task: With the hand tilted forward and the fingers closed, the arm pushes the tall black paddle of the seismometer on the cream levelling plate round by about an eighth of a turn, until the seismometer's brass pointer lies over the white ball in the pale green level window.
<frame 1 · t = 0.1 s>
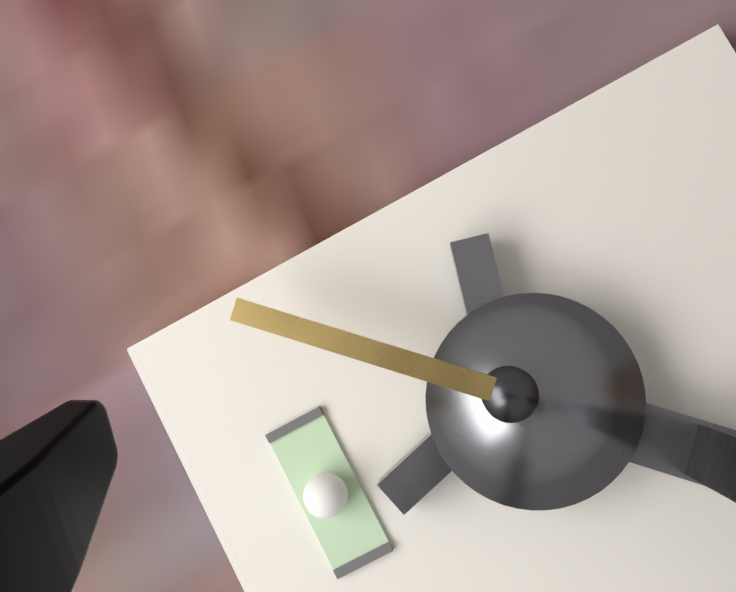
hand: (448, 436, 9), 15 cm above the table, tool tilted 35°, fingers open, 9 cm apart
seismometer: (558, 414, 17), point 6 cm above the table, hinge at 0.0°
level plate: (558, 461, 23), on the table
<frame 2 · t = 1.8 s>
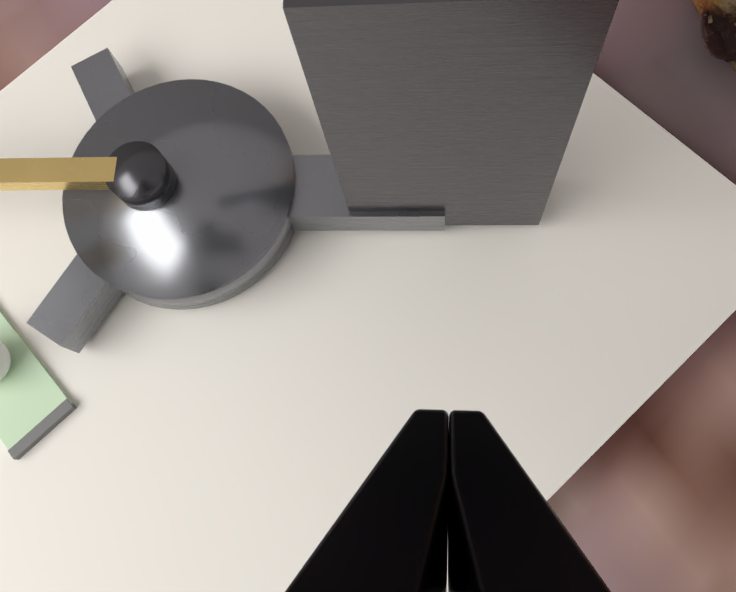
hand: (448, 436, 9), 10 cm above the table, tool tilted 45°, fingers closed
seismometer: (131, 120, 16), point 6 cm above the table, hinge at 0.0°
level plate: (255, 274, 21), on the table
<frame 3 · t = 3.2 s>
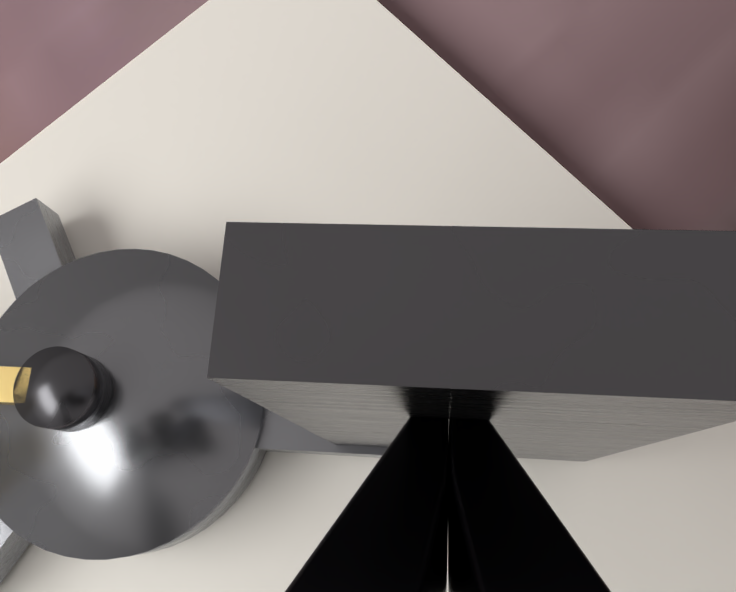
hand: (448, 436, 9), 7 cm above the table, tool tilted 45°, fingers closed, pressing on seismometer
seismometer: (31, 366, 11), point 6 cm above the table, hinge at 0.4°, touching gripper
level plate: (216, 490, 16), on the table
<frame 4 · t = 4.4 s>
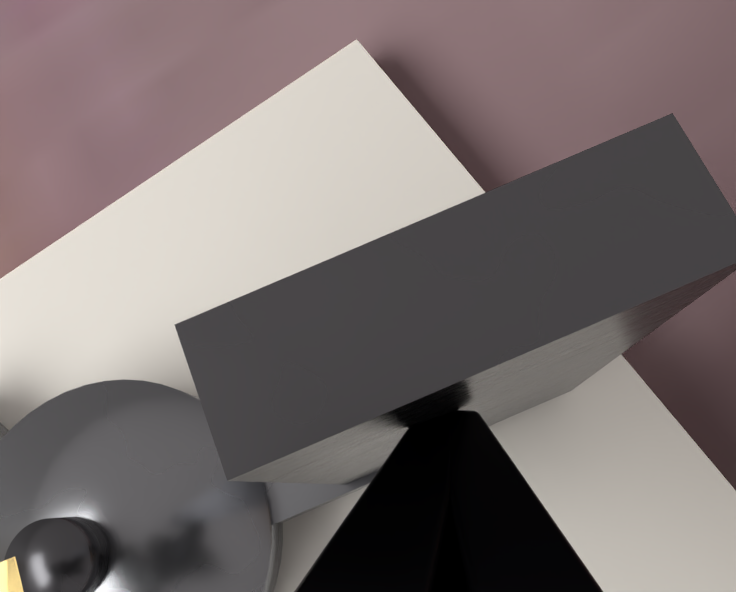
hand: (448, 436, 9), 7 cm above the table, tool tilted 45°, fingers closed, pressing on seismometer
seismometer: (20, 554, 10), point 6 cm above the table, hinge at 32.4°, touching gripper
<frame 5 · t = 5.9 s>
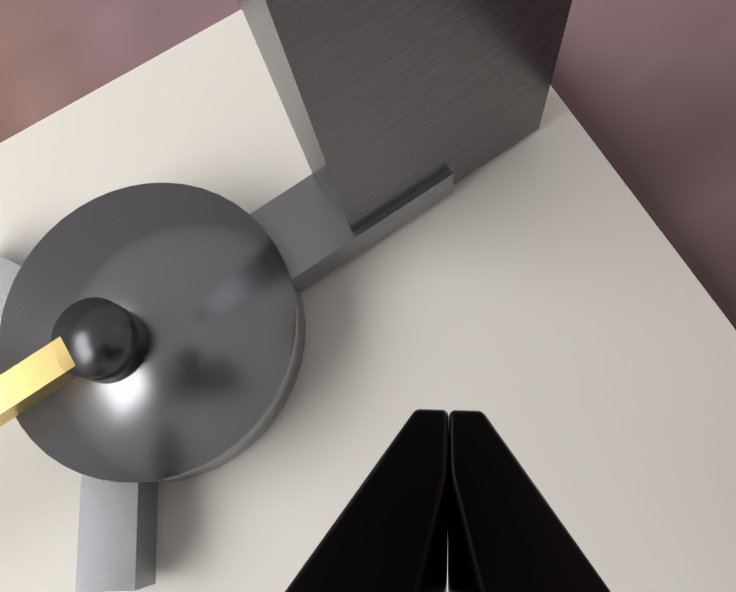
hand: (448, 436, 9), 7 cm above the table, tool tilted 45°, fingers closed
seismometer: (70, 272, 11), point 6 cm above the table, hinge at 48.6°
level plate: (230, 465, 16), on the table
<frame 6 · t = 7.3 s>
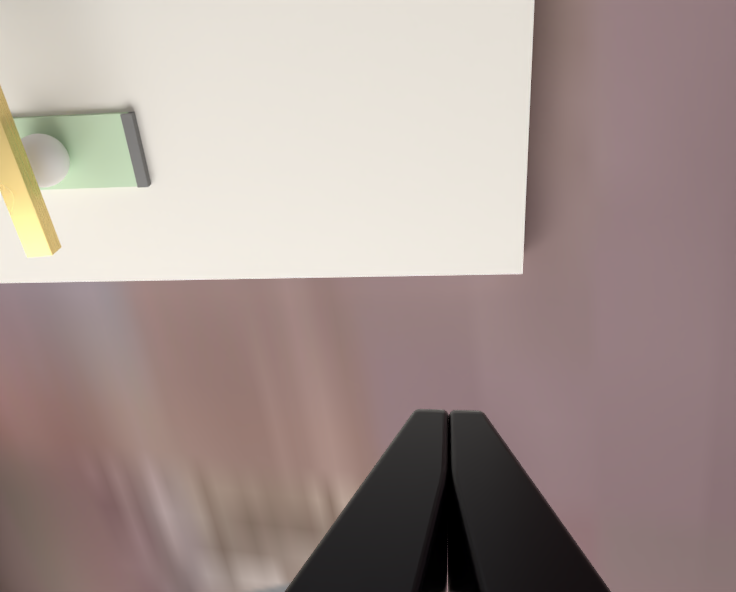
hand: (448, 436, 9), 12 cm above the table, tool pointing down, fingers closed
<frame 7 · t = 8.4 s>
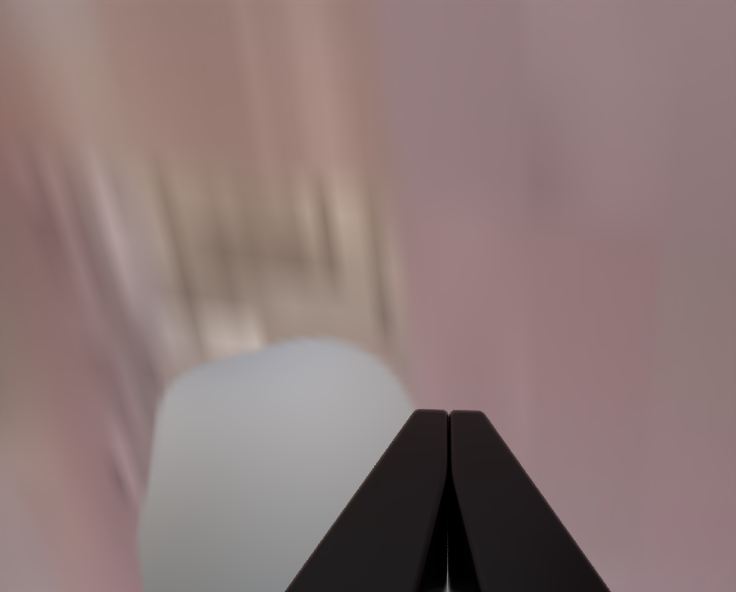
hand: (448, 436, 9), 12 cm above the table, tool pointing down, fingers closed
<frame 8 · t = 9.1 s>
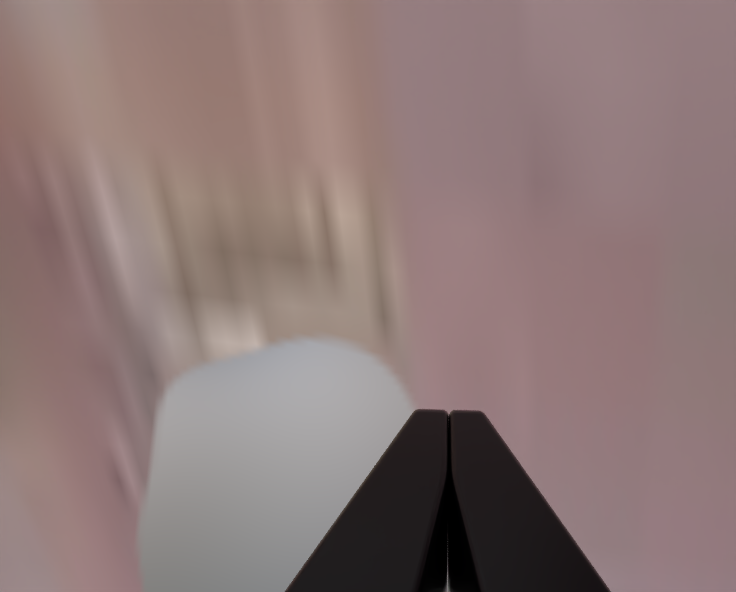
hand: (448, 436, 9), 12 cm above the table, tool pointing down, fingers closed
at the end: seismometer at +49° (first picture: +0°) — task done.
